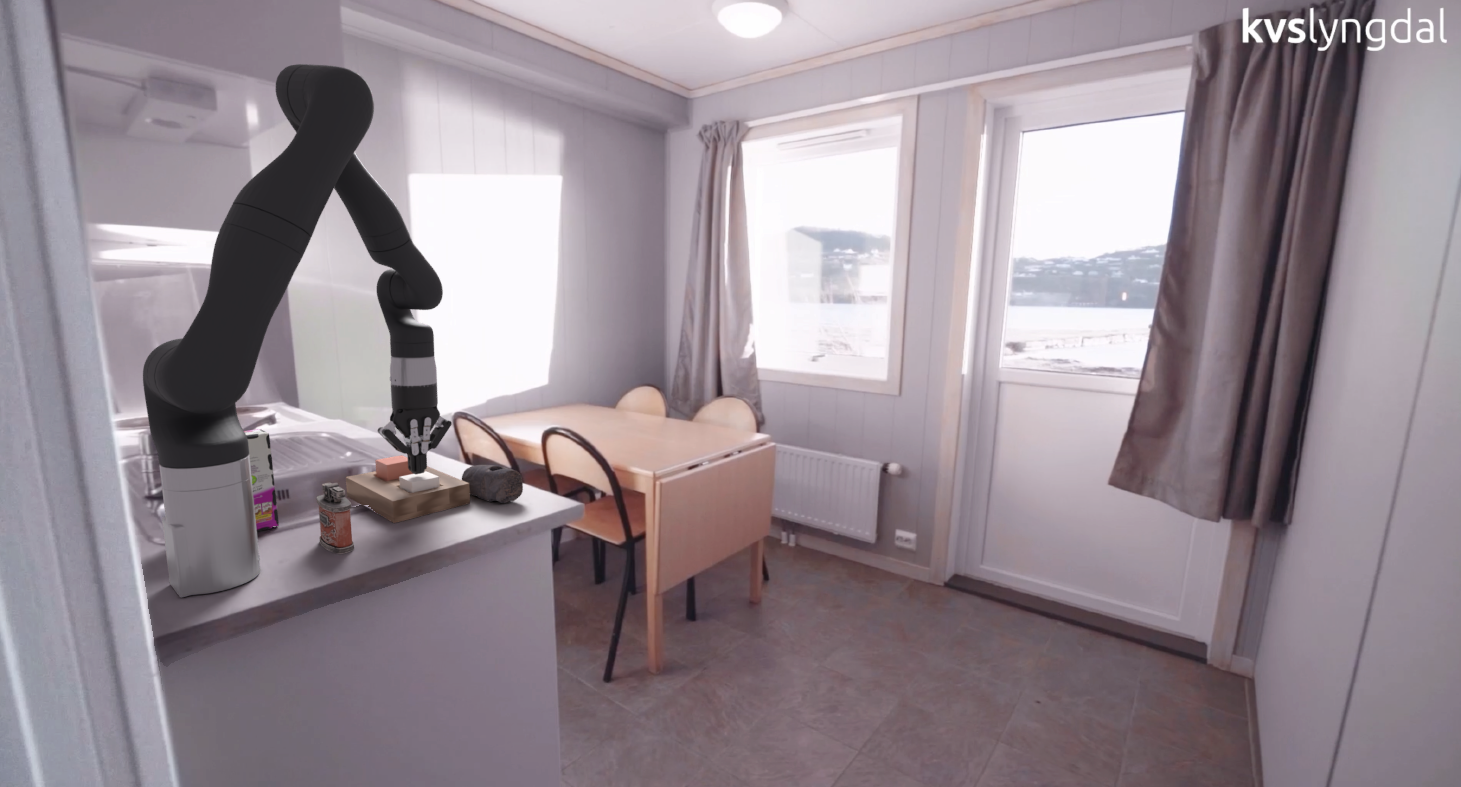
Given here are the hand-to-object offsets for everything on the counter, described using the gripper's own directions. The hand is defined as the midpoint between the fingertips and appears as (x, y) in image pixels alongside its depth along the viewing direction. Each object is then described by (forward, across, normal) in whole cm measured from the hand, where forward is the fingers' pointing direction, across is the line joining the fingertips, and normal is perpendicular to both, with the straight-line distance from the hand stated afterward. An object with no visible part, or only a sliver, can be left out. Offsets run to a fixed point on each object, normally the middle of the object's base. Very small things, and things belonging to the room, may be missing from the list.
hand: (418, 472), depth 114 cm
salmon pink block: (+4, 0, +10) cm, 11 cm away
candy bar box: (+7, -26, +9) cm, 28 cm away
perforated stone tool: (+7, +11, -5) cm, 14 cm away
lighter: (+7, -17, -8) cm, 20 cm away
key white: (+5, 0, 0) cm, 5 cm away
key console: (+6, 0, +5) cm, 8 cm away
